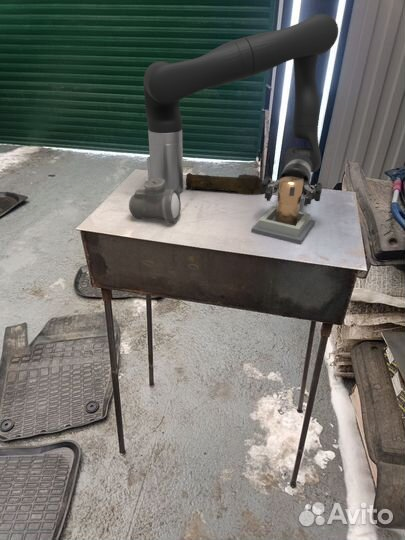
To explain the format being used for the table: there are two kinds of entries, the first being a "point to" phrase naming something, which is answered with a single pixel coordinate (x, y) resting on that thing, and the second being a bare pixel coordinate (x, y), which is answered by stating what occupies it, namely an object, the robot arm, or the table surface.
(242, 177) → the hand tool
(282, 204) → the copper cylinder
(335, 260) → the table surface
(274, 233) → the duct flange
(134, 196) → the pipe fitting
